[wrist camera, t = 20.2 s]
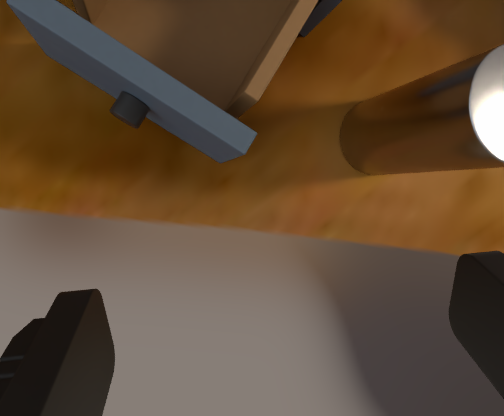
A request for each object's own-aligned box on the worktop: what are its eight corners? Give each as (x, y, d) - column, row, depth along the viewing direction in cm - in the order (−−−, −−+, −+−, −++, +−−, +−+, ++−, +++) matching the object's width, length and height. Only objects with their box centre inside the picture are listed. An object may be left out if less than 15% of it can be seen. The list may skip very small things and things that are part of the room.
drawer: (210, 180, 26) (231, 177, 19) (34, 73, 23) (-12, 26, 17) (326, -16, 27) (384, -82, 20) (171, -138, 24) (180, -259, 18)
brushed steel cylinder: (348, 183, 29) (482, 178, 17) (332, 108, 28) (459, 51, 17) (412, 165, 30) (579, 151, 18) (398, 93, 30) (560, 31, 18)
